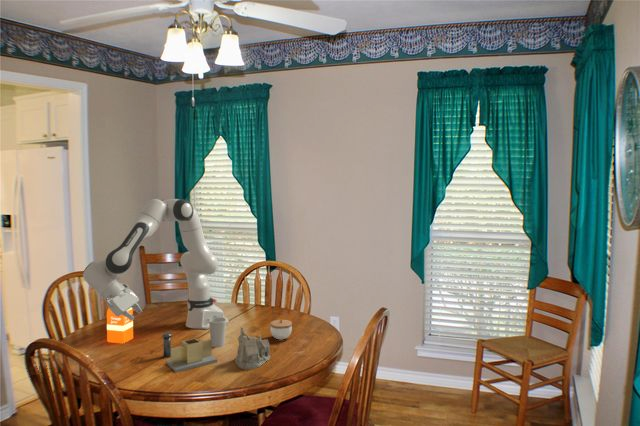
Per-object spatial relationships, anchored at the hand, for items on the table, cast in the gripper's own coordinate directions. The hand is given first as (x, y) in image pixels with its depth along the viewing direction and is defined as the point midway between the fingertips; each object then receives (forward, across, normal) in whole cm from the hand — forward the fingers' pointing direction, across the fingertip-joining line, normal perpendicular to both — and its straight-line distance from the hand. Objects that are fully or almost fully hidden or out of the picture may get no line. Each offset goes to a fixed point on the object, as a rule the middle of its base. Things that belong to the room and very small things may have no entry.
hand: (137, 315), depth 198 cm
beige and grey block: (+30, -7, -6) cm, 31 cm away
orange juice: (+2, +21, +24) cm, 32 cm away
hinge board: (+30, -7, -5) cm, 32 cm away
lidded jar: (+56, +22, -31) cm, 68 cm away
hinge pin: (+22, 0, +4) cm, 22 cm away
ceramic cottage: (+49, -6, -23) cm, 54 cm away
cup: (+36, +14, -10) cm, 40 cm away
